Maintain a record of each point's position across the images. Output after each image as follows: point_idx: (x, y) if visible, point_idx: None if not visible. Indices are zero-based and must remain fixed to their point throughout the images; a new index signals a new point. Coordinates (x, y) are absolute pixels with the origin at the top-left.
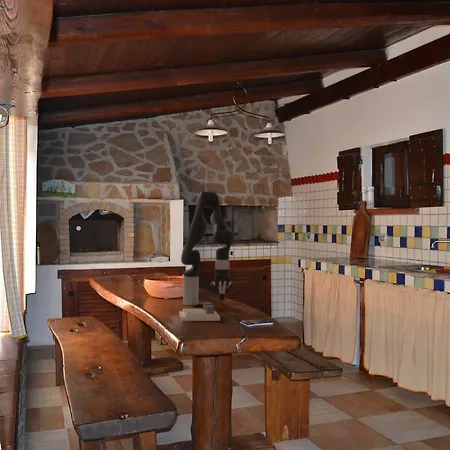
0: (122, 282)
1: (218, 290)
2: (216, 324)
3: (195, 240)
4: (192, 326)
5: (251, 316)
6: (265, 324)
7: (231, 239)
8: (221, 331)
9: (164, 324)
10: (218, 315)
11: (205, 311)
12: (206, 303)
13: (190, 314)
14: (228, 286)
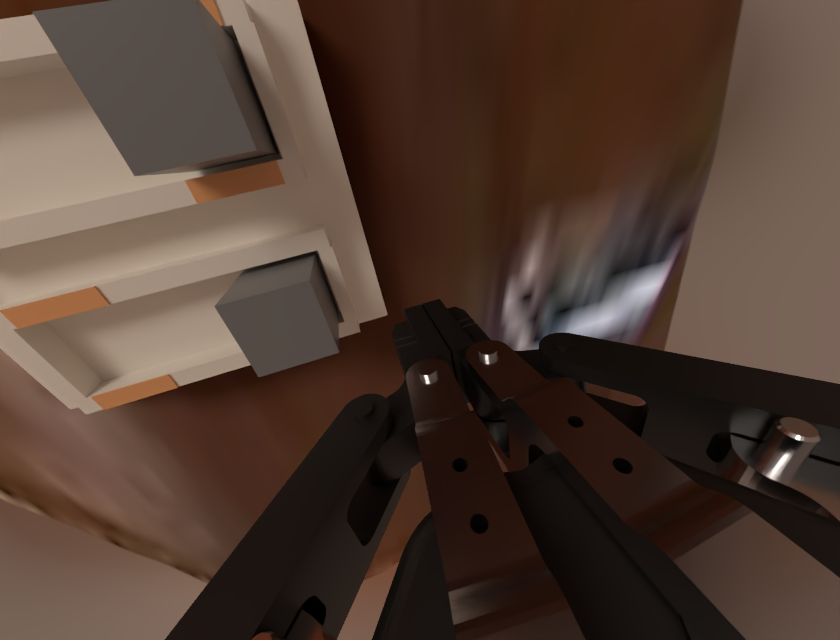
0: None
1: (412, 434)
2: (371, 392)
3: None
4: (246, 470)
5: (631, 58)
6: (617, 320)
7: None
8: (408, 491)
9: (27, 493)
10: (369, 265)
11: (212, 199)
12: (166, 164)
13: (133, 399)
14: (693, 410)
